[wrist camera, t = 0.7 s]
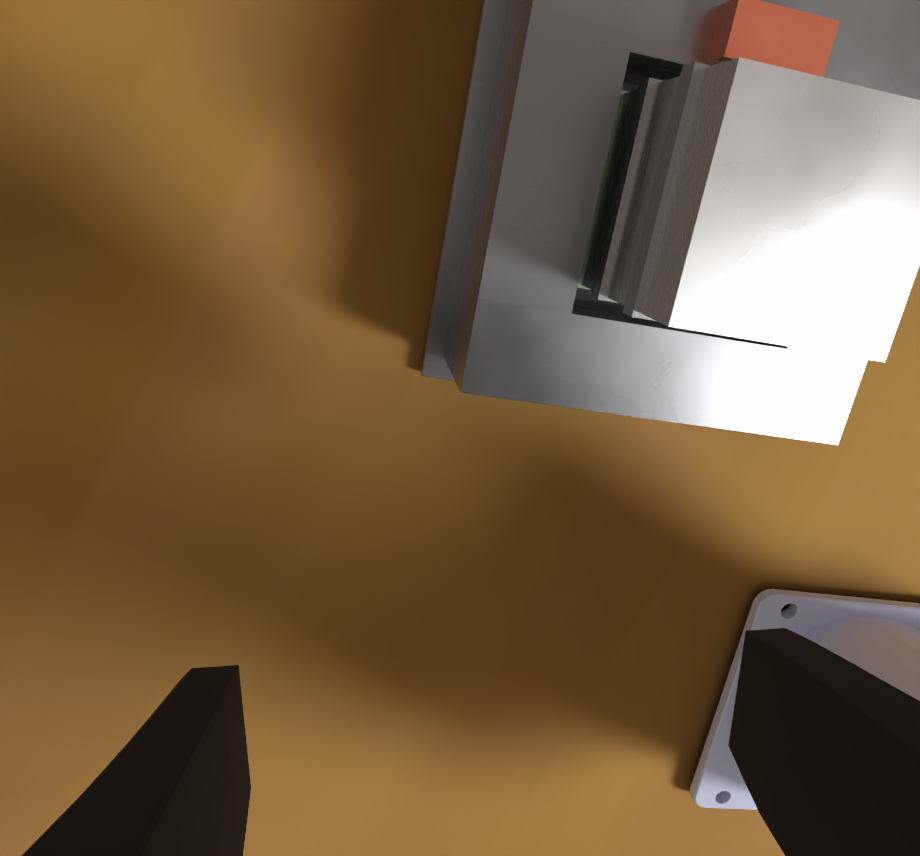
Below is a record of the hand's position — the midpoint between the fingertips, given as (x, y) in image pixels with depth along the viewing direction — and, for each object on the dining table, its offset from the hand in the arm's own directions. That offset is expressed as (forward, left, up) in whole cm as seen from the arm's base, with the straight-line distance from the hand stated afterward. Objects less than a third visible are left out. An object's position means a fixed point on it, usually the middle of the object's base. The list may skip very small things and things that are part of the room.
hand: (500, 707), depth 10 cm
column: (-4, -7, -9) cm, 13 cm away
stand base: (-4, -7, -10) cm, 13 cm away
